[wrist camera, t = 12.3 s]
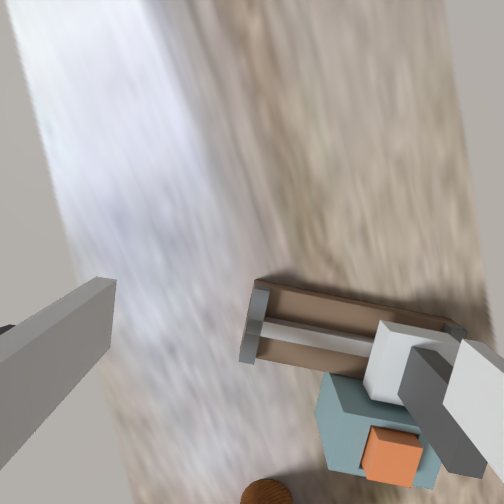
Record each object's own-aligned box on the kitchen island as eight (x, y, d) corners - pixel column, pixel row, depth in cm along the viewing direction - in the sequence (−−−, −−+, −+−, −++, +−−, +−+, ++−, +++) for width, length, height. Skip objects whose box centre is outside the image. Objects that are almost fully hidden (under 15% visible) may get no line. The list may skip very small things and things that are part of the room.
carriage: (379, 319, 38) (440, 388, 26) (448, 333, 39) (542, 408, 26) (362, 383, 40) (412, 478, 27) (428, 396, 40) (509, 497, 27)
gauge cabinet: (326, 365, 44) (343, 412, 35) (417, 383, 44) (457, 434, 35) (313, 415, 45) (327, 472, 36) (402, 432, 45) (437, 493, 36)
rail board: (254, 279, 42) (254, 288, 38) (450, 319, 42) (467, 331, 39) (240, 347, 43) (238, 361, 40) (429, 384, 44) (444, 402, 40)
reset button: (358, 395, 40) (378, 439, 33) (395, 403, 40) (423, 448, 34) (348, 429, 41) (367, 479, 34) (385, 436, 41) (410, 487, 34)
